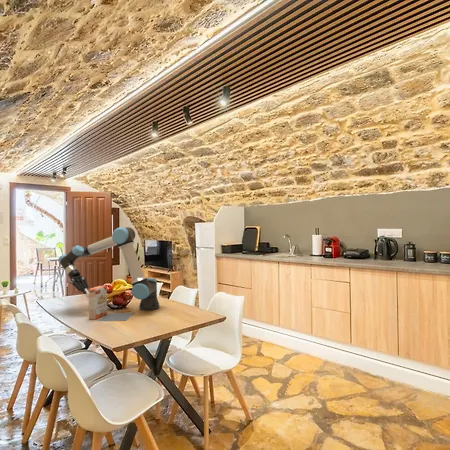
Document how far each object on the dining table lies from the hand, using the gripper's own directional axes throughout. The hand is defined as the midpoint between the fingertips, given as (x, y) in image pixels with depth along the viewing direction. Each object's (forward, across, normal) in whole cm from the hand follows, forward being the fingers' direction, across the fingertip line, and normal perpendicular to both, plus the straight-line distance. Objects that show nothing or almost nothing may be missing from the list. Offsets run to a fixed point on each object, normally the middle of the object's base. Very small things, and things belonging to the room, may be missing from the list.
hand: (89, 296), depth 241 cm
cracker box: (+16, 0, -4) cm, 16 cm away
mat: (+24, -5, +5) cm, 26 cm away
